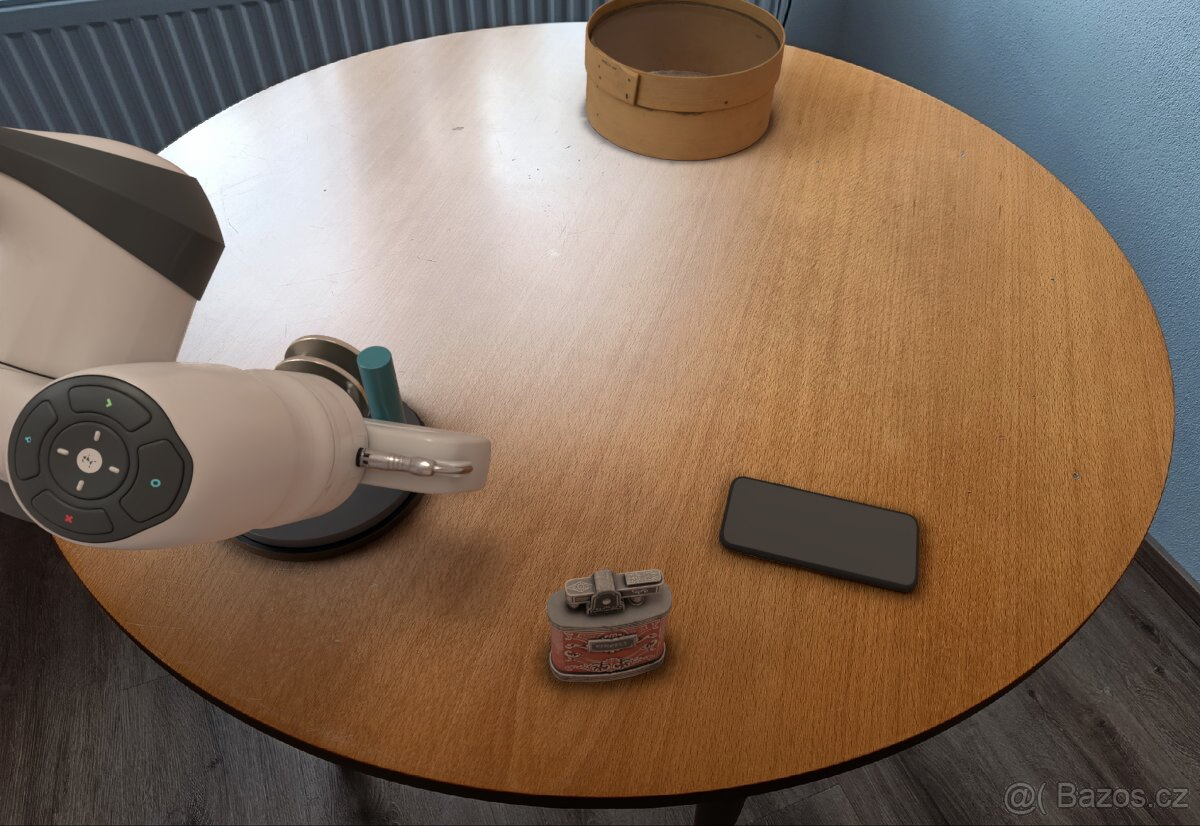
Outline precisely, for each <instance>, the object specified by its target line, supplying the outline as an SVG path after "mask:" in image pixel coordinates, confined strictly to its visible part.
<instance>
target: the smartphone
mask: <svg viewBox="0 0 1200 826" xmlns="http://www.w3.org/2000/svg"><path fill="white" fill-rule="evenodd" d="M722 515H723V516H722V519H721V525H720V529H719V532H718V535H719V536H718V538H719V539H718V540H719V544H720V545H721V546H722V547H723V548H724V549H726V550H727V551H730V552H734V553H739V554H741V555H745V556H752V557H755V558H758V559H761V560H766V561H773V562H774V563H777V564H782V565H787V566H793V567H797V568H801V569H806V570H810V571H812V572H813V571H814V572H817V573H822V574H827V575H830V576H835V577H839V578H843V579H846V580H850V581H851V580H852V581H855V582H859V583H863V584H867V585H871V586H876V587H879V588H885V589H889V590H892V591H896V592H897V591H898V592H901V593H910V592H912V591H913V590H914V589H915V588H916V587H917V585H918V581H919V558H920V556H919V554H920V551H919V550H920V525H919V522H918V520H917V518H916V517H915V516H914V515H912V514H911V513H907V512H903V511H900V510H899V511H898V510H894V509H890V508H885V507H881V506H877V505H872V504H868V503H864V502H860V501H854V500H851V499H846V498H841V497H837V496H833V495H828V494H825V493H820V492H815V491H813V490H807V489H803V488H798V487H796V486H790V485H787V484H782V483H778V482H772V481H767V480H763V479H758V478H754V477H750V476H746V475H745V476H744V475H739V476H737V477H735V478H734V479H733V480H732V481H731V483H730V484H729V488H728V493H727V497H726V501H725V508H724V511H723V514H722Z"/></svg>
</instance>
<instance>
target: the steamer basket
mask: <svg viewBox="0 0 1200 826" xmlns="http://www.w3.org/2000/svg"><path fill="white" fill-rule="evenodd" d="M786 38H787V37H786V30H785V28H784V26H783V24H781V22H780V21H779V19H778V18H777V17H776V16H775V15H773V14H771V12H769V11H768V10H767V9H765V8H762V7H760V6H758V5H757V4H755V3H752V2H750V1H748V0H609V1H607V2H605V3H603V4H601V5H600V6H598V7H597V8H596V9H595V10H594V11H593V13H592V14H591V15H590V16H589V18H588V20H587V23H586V26H585V38H584V39H585V40H584V41H585V42H584V68H585V71H586V85H585V86H586V87H585V111H586V116H587V120H588V121H589V123H590V125H591V126H592V127H593V129H594V130H595V131H596V132H597V133H598V134H599V135H600V136H601V137H603V138H604V139H606V140H608V141H609V142H611V143H612V144H614V145H616V146H618V147H620V148H622V149H625V150H627V151H629V152H632V153H635V154H639V155H642V156H646V157H651V158H656V159H660V160H671V161H672V160H673V161H703V160H704V161H705V160H711V159H717V158H721V157H726V156H729V155H732V154H735V153H738V152H740V151H743V150H745V149H746V148H749V147H751V146H752V145H753V144H755V143H756V142H757V141H758V140H759V139H761V137H762V136H763V135H764V134H765V133H766V131H767V129H768V126H769V124H770V117H771V111H772V105H773V100H774V94H775V88H776V84H777V83H778V81H779V79H780V77H781V72H782V64H783V60H784V52H785V45H786ZM674 72H677V73H675V74H674ZM664 73H665V74H664ZM691 73H692V74H696V76H694V75H691V76H690V74H691ZM700 74H701V76H699V75H700Z"/></svg>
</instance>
